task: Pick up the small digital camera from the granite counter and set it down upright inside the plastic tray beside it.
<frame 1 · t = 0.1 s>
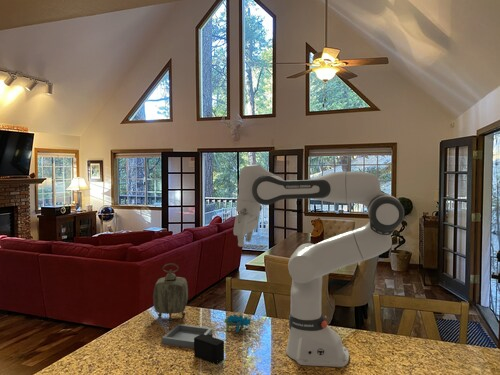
hand: (244, 243, 142), 39 cm above the kitchen counter, tool pointing down, fingers open, 8 cm apart
tray: (187, 338, 148), on the kitchen counter
tabletop clock: (170, 319, 168), on the kitchen counter
blue lumpy piece: (237, 330, 157), on the kitchen counter
digital camera: (210, 358, 134), on the kitchen counter
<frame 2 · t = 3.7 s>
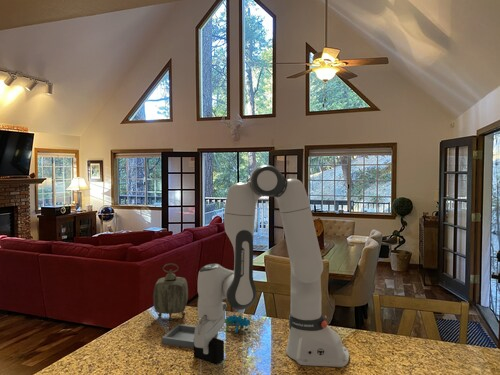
hand: (210, 348, 134), 3 cm above the kitchen counter, tool pointing down, fingers closed on digital camera, 5 cm apart
digital camera: (210, 358, 134), on the kitchen counter, touching gripper
everything else where it was.
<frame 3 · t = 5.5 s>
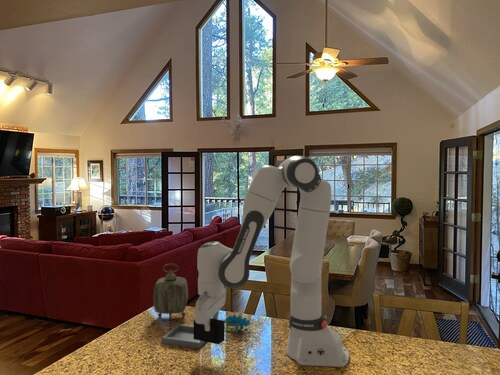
hand: (211, 326, 133), 11 cm above the kitchen counter, tool pointing down, fingers closed on digital camera, 5 cm apart
digital camera: (210, 339, 133), point 7 cm above the kitchen counter, touching gripper
everything else where it was.
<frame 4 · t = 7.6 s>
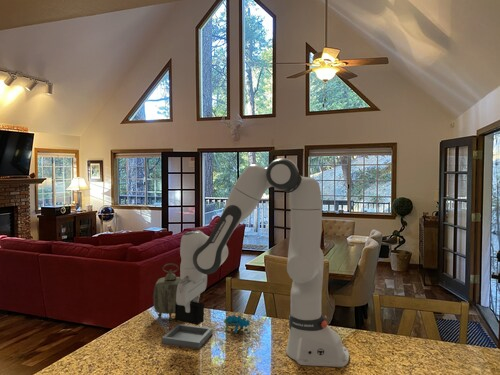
hand: (192, 308, 144), 13 cm above the kitchen counter, tool pointing down, fingers closed on digital camera, 5 cm apart
digital camera: (190, 321, 144), point 9 cm above the kitchen counter, touching gripper
everything else where it was.
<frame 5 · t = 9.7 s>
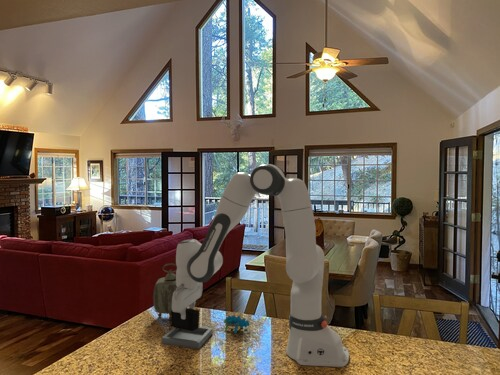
hand: (187, 315, 148), 9 cm above the kitchen counter, tool pointing down, fingers closed on digital camera, 5 cm apart
digital camera: (185, 327, 147), point 5 cm above the kitchen counter, touching gripper
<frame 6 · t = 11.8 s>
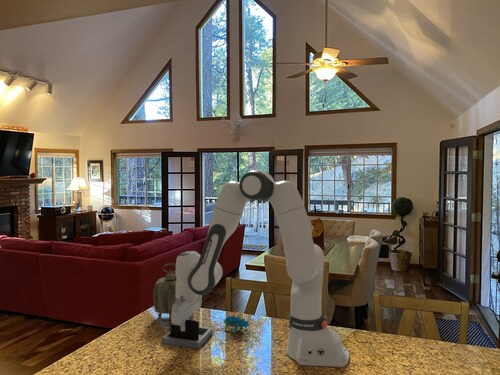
hand: (187, 327, 148), 5 cm above the kitchen counter, tool pointing down, fingers closed on digital camera, 5 cm apart
digital camera: (185, 339, 147), resting on tray, touching gripper
when the fingers open (5 cm above the kitchen counter, at t = 11.8 s): digital camera stays where it is, resting on tray.
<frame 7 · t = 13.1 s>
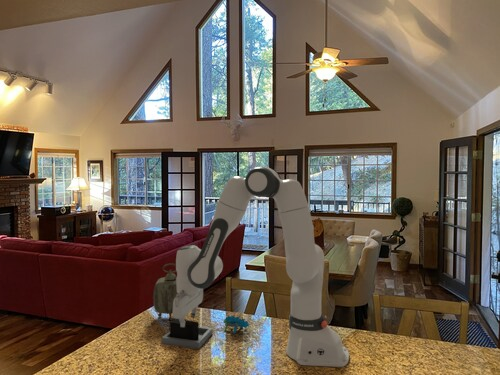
hand: (188, 321, 148), 7 cm above the kitchen counter, tool pointing down, fingers open, 8 cm apart
digital camera: (185, 339, 147), resting on tray
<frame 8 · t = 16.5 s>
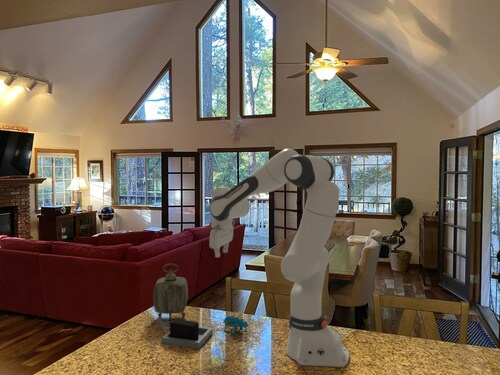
hand: (221, 254, 166), 29 cm above the kitchen counter, tool pointing down, fingers open, 8 cm apart
at the end: digital camera inside the target area on the tray (1.5 cm from its centre), point 0.3 cm above the tray's base; digital camera tilted 0°; the gripper is holding nothing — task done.
